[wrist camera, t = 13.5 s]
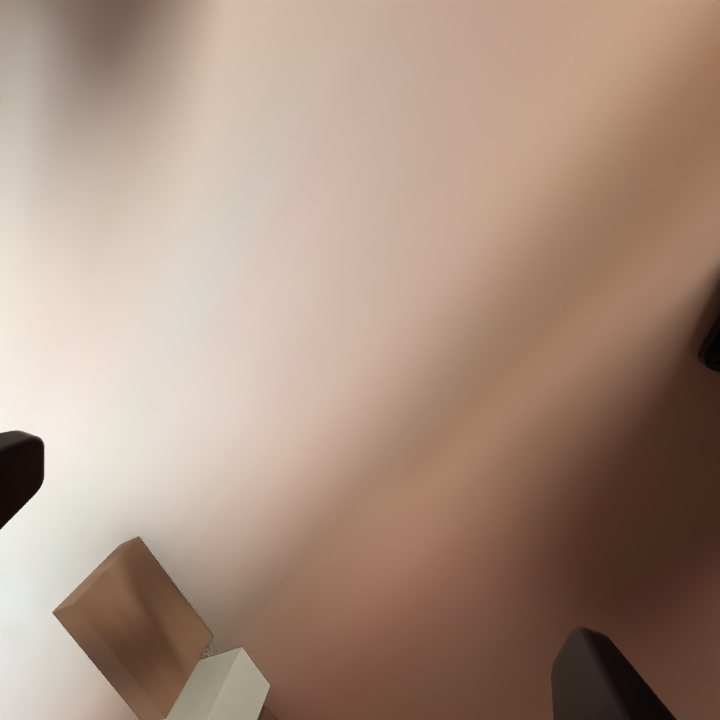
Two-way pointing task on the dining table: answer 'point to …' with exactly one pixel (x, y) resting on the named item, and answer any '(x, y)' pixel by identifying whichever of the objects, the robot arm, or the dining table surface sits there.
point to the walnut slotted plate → (137, 630)
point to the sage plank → (222, 689)
